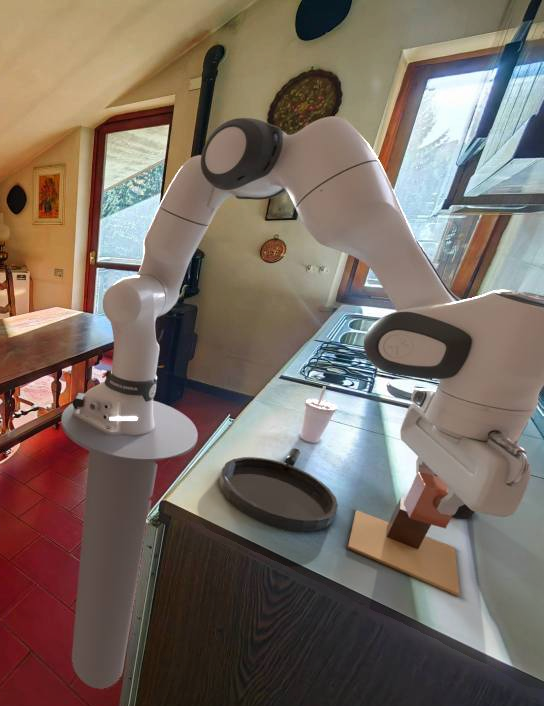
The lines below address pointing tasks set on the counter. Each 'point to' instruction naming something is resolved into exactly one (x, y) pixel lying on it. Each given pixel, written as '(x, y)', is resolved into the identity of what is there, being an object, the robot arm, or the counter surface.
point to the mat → (405, 553)
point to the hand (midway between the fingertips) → (431, 498)
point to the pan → (278, 494)
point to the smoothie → (316, 418)
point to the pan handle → (291, 458)
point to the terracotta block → (426, 500)
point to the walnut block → (406, 527)
